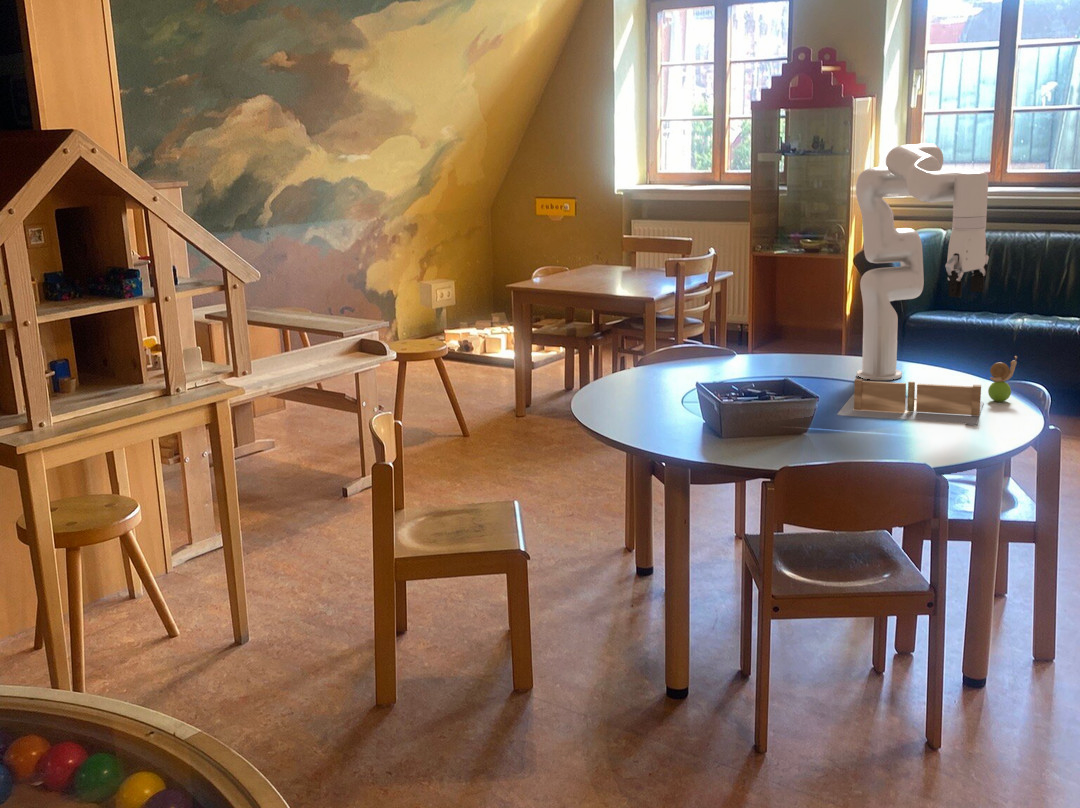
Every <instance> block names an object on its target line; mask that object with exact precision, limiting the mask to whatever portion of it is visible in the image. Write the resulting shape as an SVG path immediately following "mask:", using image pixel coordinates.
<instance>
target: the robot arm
mask: <svg viewBox="0 0 1080 808" xmlns="http://www.w3.org/2000/svg"><path fill="white" fill-rule="evenodd" d="M943 165H944V154H943V152H942V150H941V148H940V147H939V146H938V145H936V144H935V143H916V144H914V143H913V144H911V143H910V144H903V145H898V146H896V147H894V148H892V149H891V150H890V151H889V152H888V153H887V156H886V158H885V165H884V166H875V167H870V168H867V169H865V170H863V171H861V173H860V174H859V175H858V177H857V179H856V184H855V185H856V186H855V195H856V200H857V203H858V207H859V210H860V213H861V219H862V223H861V224H862V234H863V235H862V238H863V239H862V240H863V252H864V256H865V257H864V258H865V260H866V261H867V262H869V263H871V264H872V263H873V264H889V263H900V264H899V265H900V266H892V267H891V266H890V267H888V266H887V267H879V268H872V269H869V270H867V271H866V272H864V273H863V275H862V276H861V279H860V285H859V286H860V292H861V299H862V310H863V311H862V312H863V313H862V314H863V315H862V316H863V317H862V319H863V320H862V321H863V322H862V357H861V358H862V362H861V363H862V365H861V367H862V369H859V370H857V371H856V377H858V376H859V377H861V378H860V379H862V378H863V380H867V379H870V380H869V381H892V380H893V379H894V380H897V379H900V378H902V376H903V373H902V371H901V370H899V369H897V361H898V360H897V359H898V358H897V357H898V355H897V354H898V329H899V328H898V326H899V325H898V324H899V323H898V321H899V319H898V318H899V317H898V313H897V312H896V310H895V308H894V307H893V305H892V303H891V302H894V301H902V300H903V301H904V300H914V299H916V298H918V297H920V296H921V294H922V292H923V291H924V284H925V283H924V281H925V279H924V274H925V273H924V258H923V257H924V256H923V255H924V253H923V244H922V243H923V242H922V239H921V237H920V234H919V233H918V231H916V230H915V229H913V228H910V227H901V228H895V221H894V218H895V217H894V211H893V210H892V208H891V206H890V205H889V203H888V202H887V201H886V200H885V199H884V198H894V197H895V198H896V197H909V196H911V197H913V198H915V199H916V200H919V201H921V202H923V203H931V204H933V203H943V202H944V203H945V202H947V203H948V202H953V205H952V227H951V228H952V230H951V233H950V238H949V242H948V249H947V261H946V263H945V266H944V267H945V269H946V275H947V281H948V297H950V298H961V297H962V296H963V280H961V279H962V278H963V275H964V274H965V273H967V272H968V273H969V272H971V273H972V275H970V290H969V291H970V292H974V293H983V292H984V290H985V289H984V287H985V276H986V270H987V268H988V264H989V263H988V262H989V259H990V256H989V255H988V254H987V238H986V237H987V236H986V230H987V211H988V192H989V191H988V190H989V175H988V173H987V172H985V171H981V170H980V171H978V170H976V171H973V170H971V169H970V170H969V169H954V170H952V169H951V170H942V167H943ZM859 377H858V378H859Z"/></svg>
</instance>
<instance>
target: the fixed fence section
mask: <svg viewBox="0 0 1080 808" xmlns="http://www.w3.org/2000/svg"><path fill="white" fill-rule="evenodd" d="M853 385H854V386H853V387H854V389H853V391H854V393H853V395H854V410H875V411H892V412H905V401H906V397H907V396H906V395H907V394H906V393H907V383H906V382H890V381H889V382H888V381H887V382H886V381H875V380H868V381H867V380H864V379H862V378H855V379H854V384H853Z"/></svg>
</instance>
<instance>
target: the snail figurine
mask: <svg viewBox="0 0 1080 808" xmlns="http://www.w3.org/2000/svg"><path fill="white" fill-rule="evenodd" d="M1017 359H1018V356H1017V355H1014V359H1013V360H1012V361H1010V367H1009V366H1008V365H1007V363H1005V362H1001V361H1000V362H999V361H998V362H995V363H993V365H991V367H990V369H989V370H990V371H989V372H990V375H991V376H990V377H989V379H990V380H991V381H993V383H991V384H990V385H989V387H988V390H987V393H988V396H989V398H990V399H991V400H992V401H994V402H998V403H1001V402H1005V401H1007V400H1008V399H1009V398H1010V397H1011V394H1012V388H1011V386H1010V385H1009V383H1008V382H1007V381H1009V380H1010V379H1011V378H1012V377H1013V375H1014V372H1015V369H1016V366H1017Z"/></svg>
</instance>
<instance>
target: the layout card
mask: <svg viewBox="0 0 1080 808" xmlns="http://www.w3.org/2000/svg"><path fill="white" fill-rule="evenodd" d="M916 403H917V397H915V398H914V411H913V412H910V411H907V406H908V396H906V401H905V412H892V411H875V410H854V394H852V395H851V396H850V397H849V399H847V401H846V402H845V404H844V405H843V406H842V407H841V408H840V410H838V413H836V416H844V417H845V416H846V417H858V418H859V417H862V418H863V417H864V418H874V419H875V418H876V419H877V418H878V419H893V420H905V421H906V420H909V421H924V422H940V423H941V422H942V423H951V424H952V423H954V424H965V426H977V424H978V422H979V419H980V416H981V413H982V410H983V406H984V401H980V415H979V416H972V415H961V414H945V413H929V412H916Z"/></svg>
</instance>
